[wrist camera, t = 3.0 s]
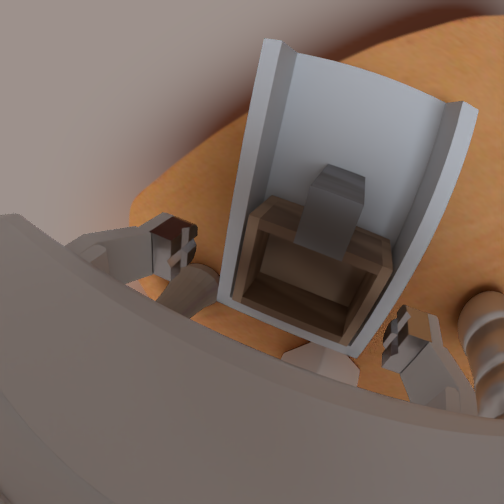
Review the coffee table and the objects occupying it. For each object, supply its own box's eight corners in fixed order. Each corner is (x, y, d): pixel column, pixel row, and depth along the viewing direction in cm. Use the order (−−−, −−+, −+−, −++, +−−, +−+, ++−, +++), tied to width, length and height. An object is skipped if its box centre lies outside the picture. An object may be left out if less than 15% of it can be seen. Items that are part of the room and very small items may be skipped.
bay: (361, 323, 26) (356, 358, 22) (238, 273, 30) (216, 300, 26) (455, 110, 14) (478, 110, 10) (285, 52, 18) (264, 38, 13)
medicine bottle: (282, 352, 33) (243, 432, 23) (328, 333, 29) (298, 427, 19) (315, 384, 34) (287, 460, 24) (361, 369, 29) (341, 457, 20)
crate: (353, 310, 25) (342, 366, 19) (253, 270, 27) (219, 315, 21) (408, 195, 18) (425, 231, 12) (282, 149, 21) (246, 164, 15)
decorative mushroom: (183, 308, 36) (112, 387, 24) (157, 252, 33) (67, 324, 21) (247, 310, 32) (177, 414, 20) (222, 243, 29) (121, 339, 16)
